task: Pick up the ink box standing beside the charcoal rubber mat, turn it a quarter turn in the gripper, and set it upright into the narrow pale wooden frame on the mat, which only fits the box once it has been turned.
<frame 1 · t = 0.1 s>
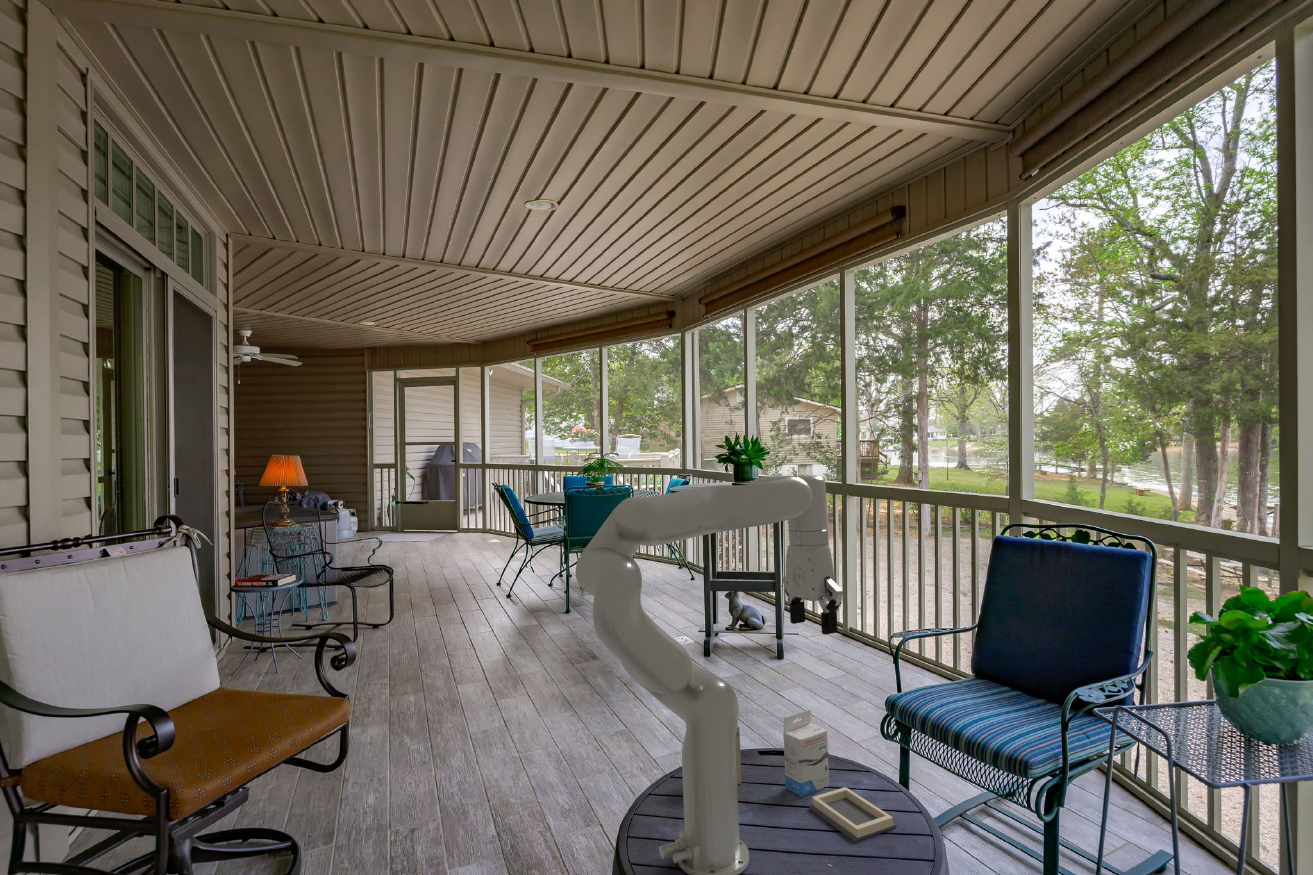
hand: (813, 627, 124), 37 cm above the table, tool pointing down, fingers open, 9 cm apart
skincare box: (725, 782, 139), on the table
ink box: (807, 788, 135), on the table
mat: (851, 817, 123), on the table
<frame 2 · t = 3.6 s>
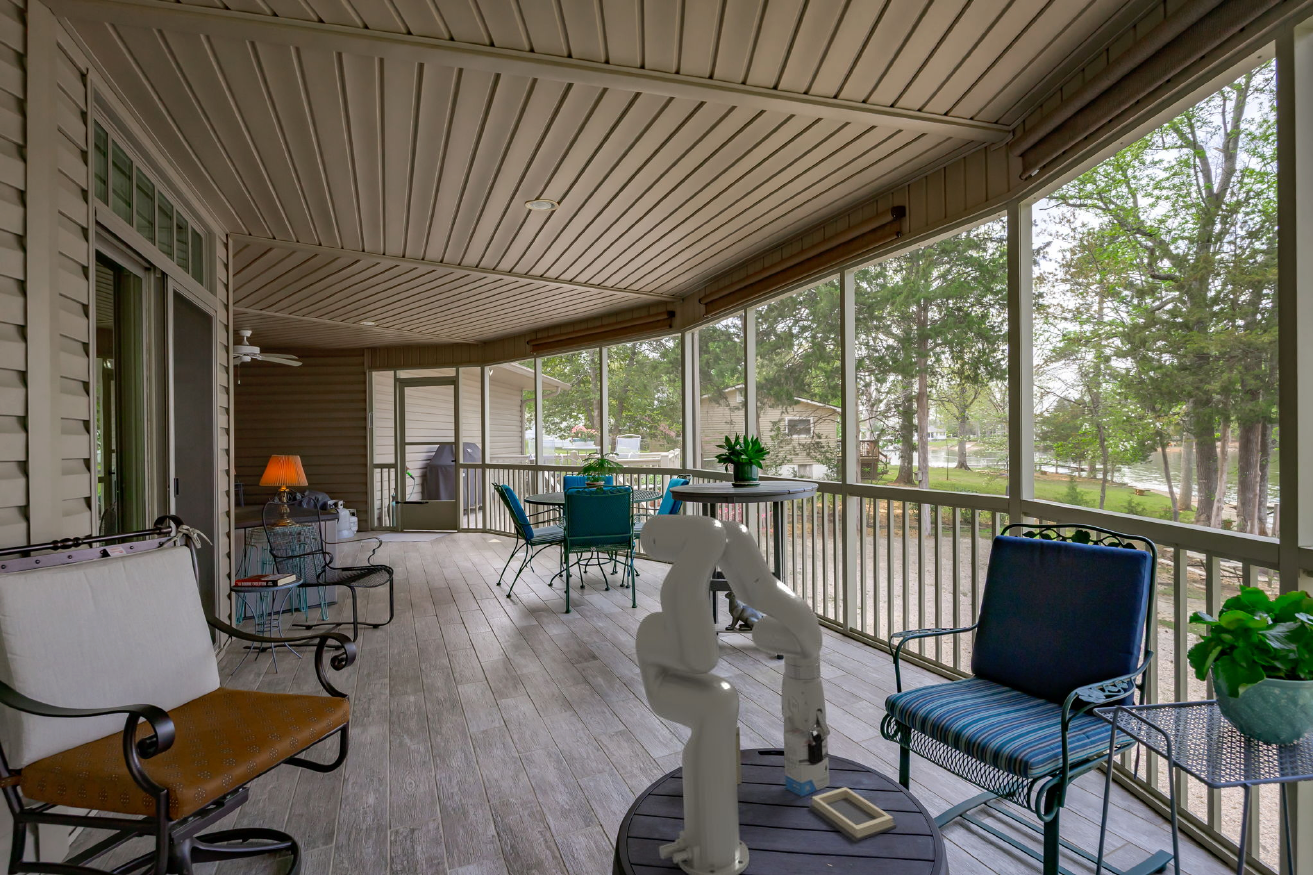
hand: (806, 755, 136), 7 cm above the table, tool pointing down, fingers closed on ink box, 5 cm apart
ink box: (808, 787, 135), on the table, touching gripper
everything else where it was.
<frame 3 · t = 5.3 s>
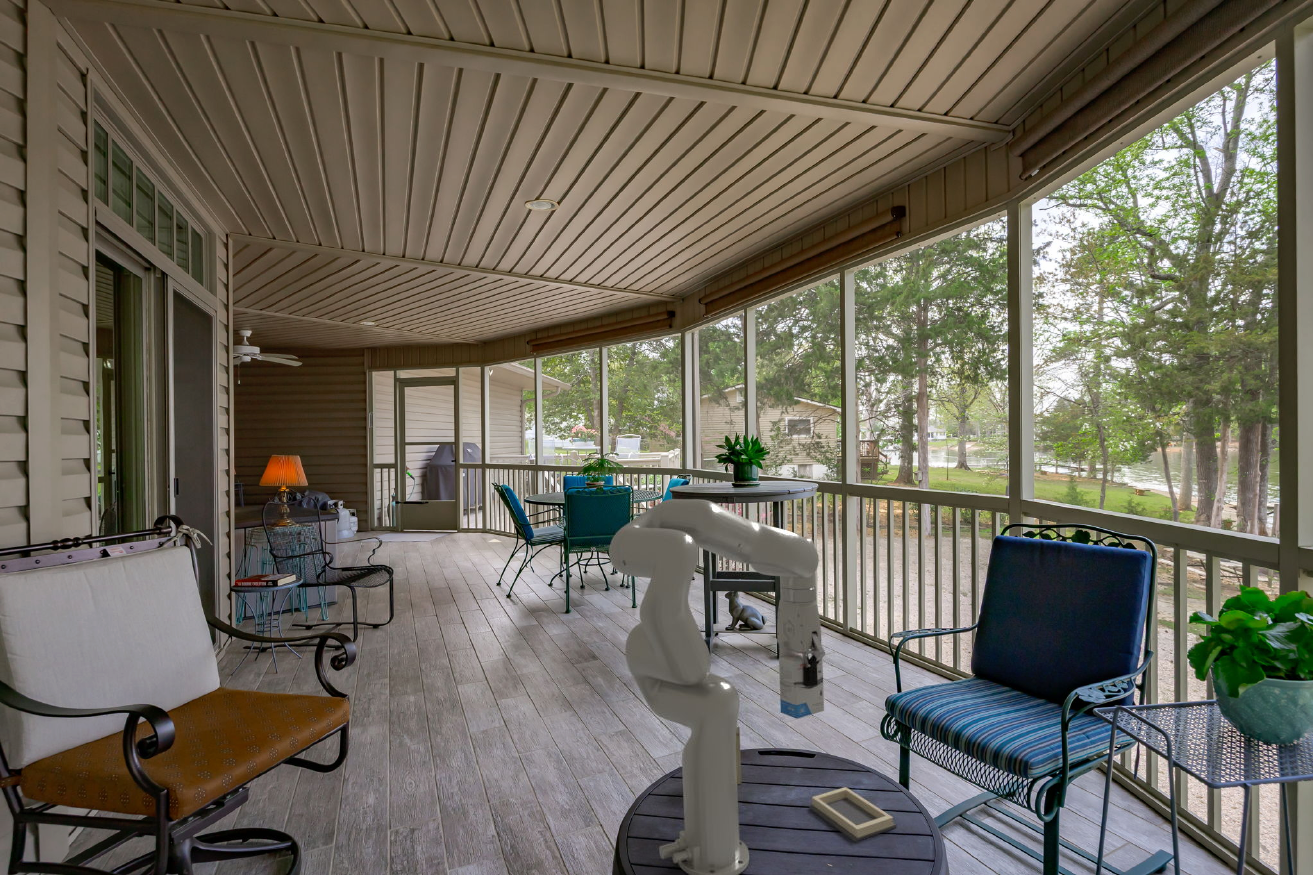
hand: (801, 680, 136), 22 cm above the table, tool pointing down, fingers closed on ink box, 5 cm apart
ink box: (802, 712, 136), point 16 cm above the table, touching gripper
everything else where it was.
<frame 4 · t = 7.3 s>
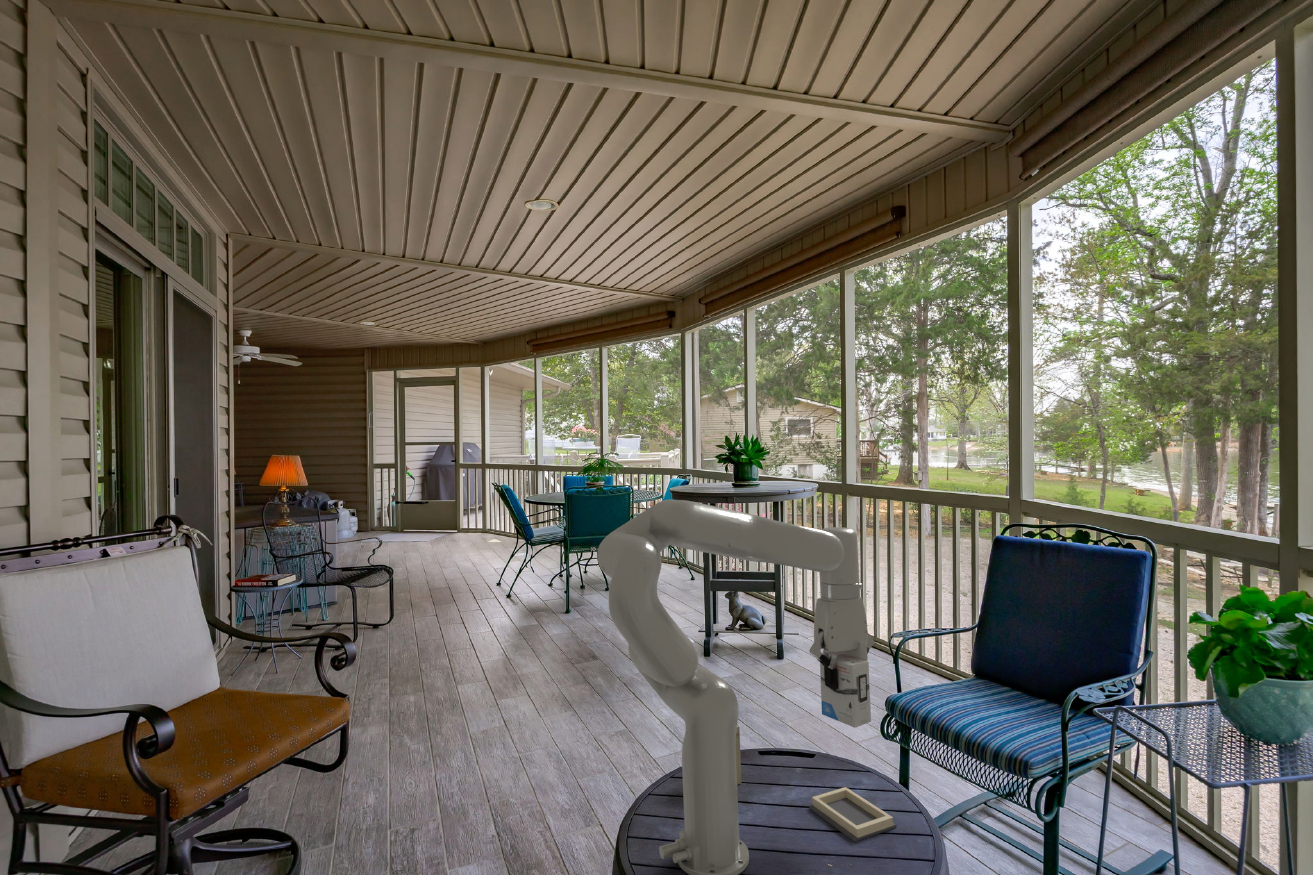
hand: (844, 684, 124), 25 cm above the table, tool pointing down, fingers closed on ink box, 5 cm apart
ink box: (846, 719, 124), point 19 cm above the table, touching gripper
everything else where it was.
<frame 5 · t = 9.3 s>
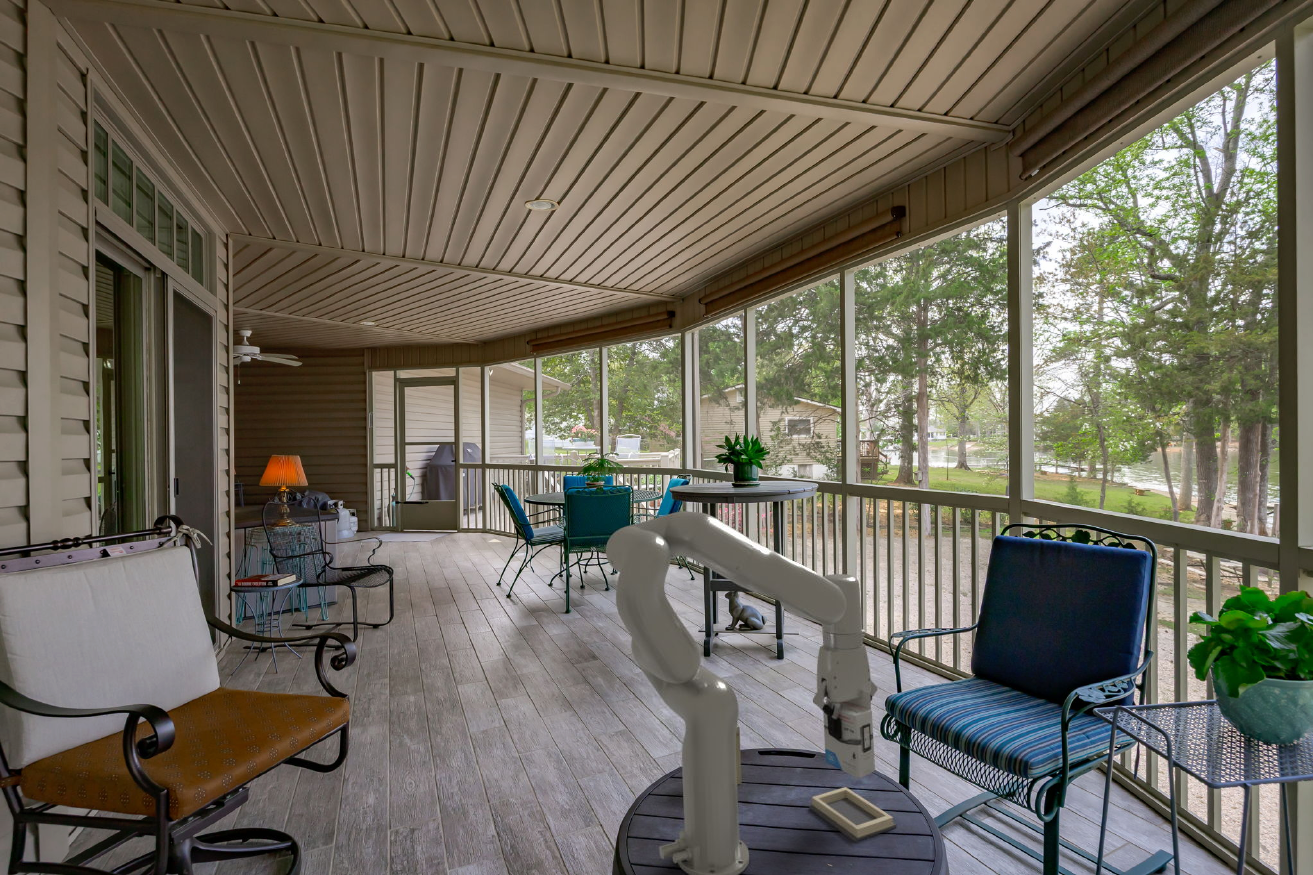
hand: (847, 732, 124), 16 cm above the table, tool pointing down, fingers closed on ink box, 5 cm apart
ink box: (850, 768, 124), point 9 cm above the table, touching gripper
everything else where it was.
when the fingers open (8 cm above the table, at t = 11.2 s): ink box stays where it is, resting on mat.
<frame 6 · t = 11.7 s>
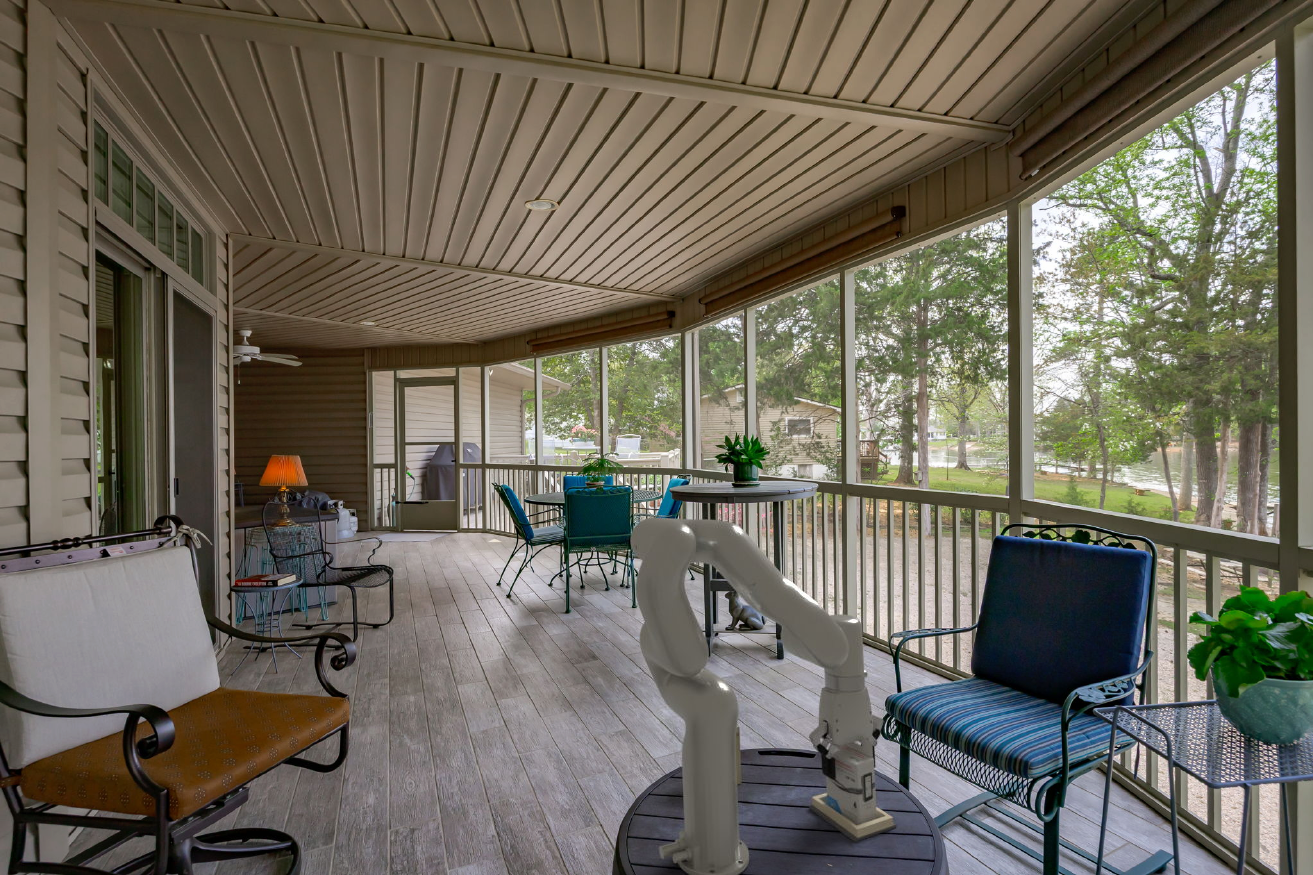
hand: (849, 770, 124), 9 cm above the table, tool pointing down, fingers open, 9 cm apart
ink box: (851, 816, 123), resting on mat
everything else where it was.
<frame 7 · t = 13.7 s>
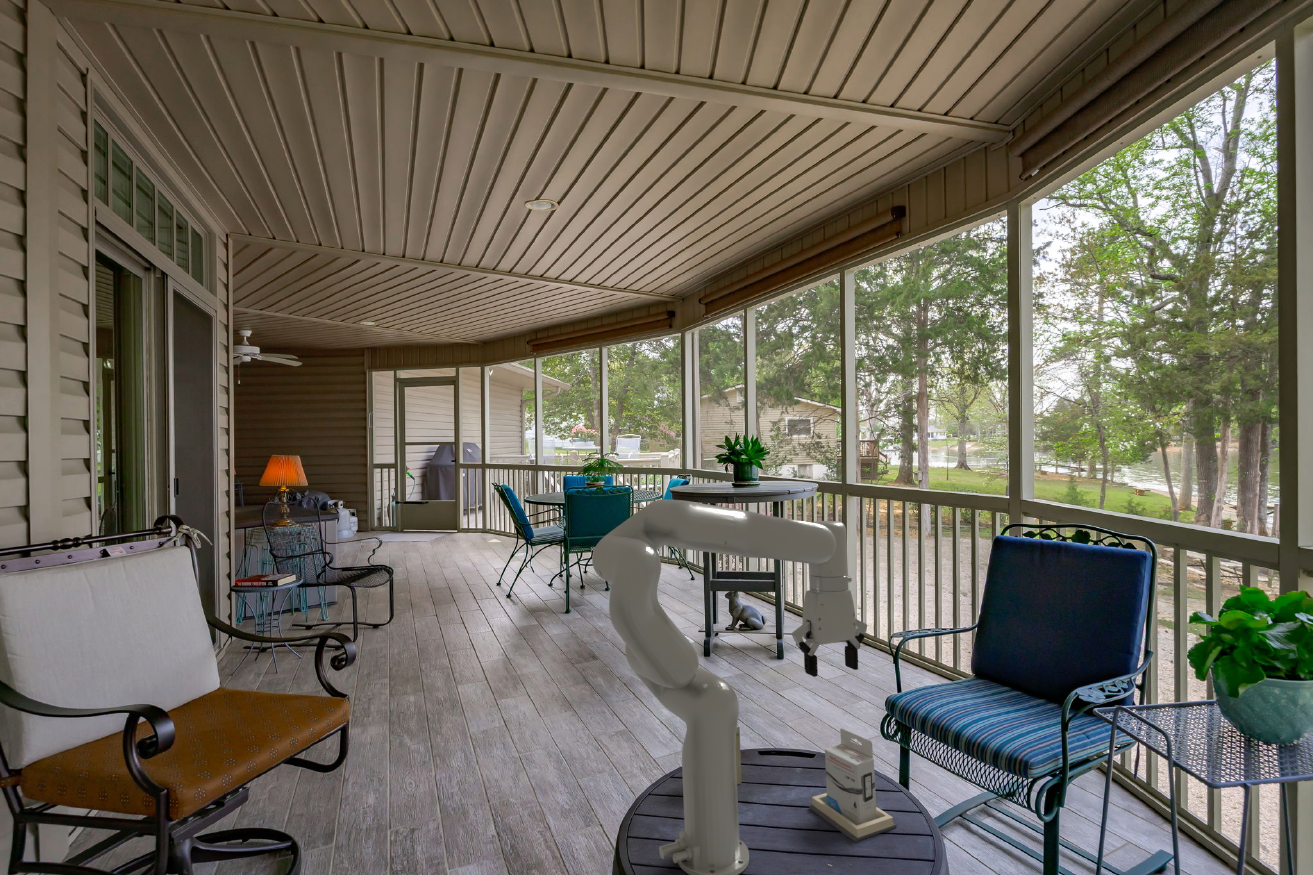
hand: (831, 671, 126), 27 cm above the table, tool pointing down, fingers open, 9 cm apart
nothing on the table moved.
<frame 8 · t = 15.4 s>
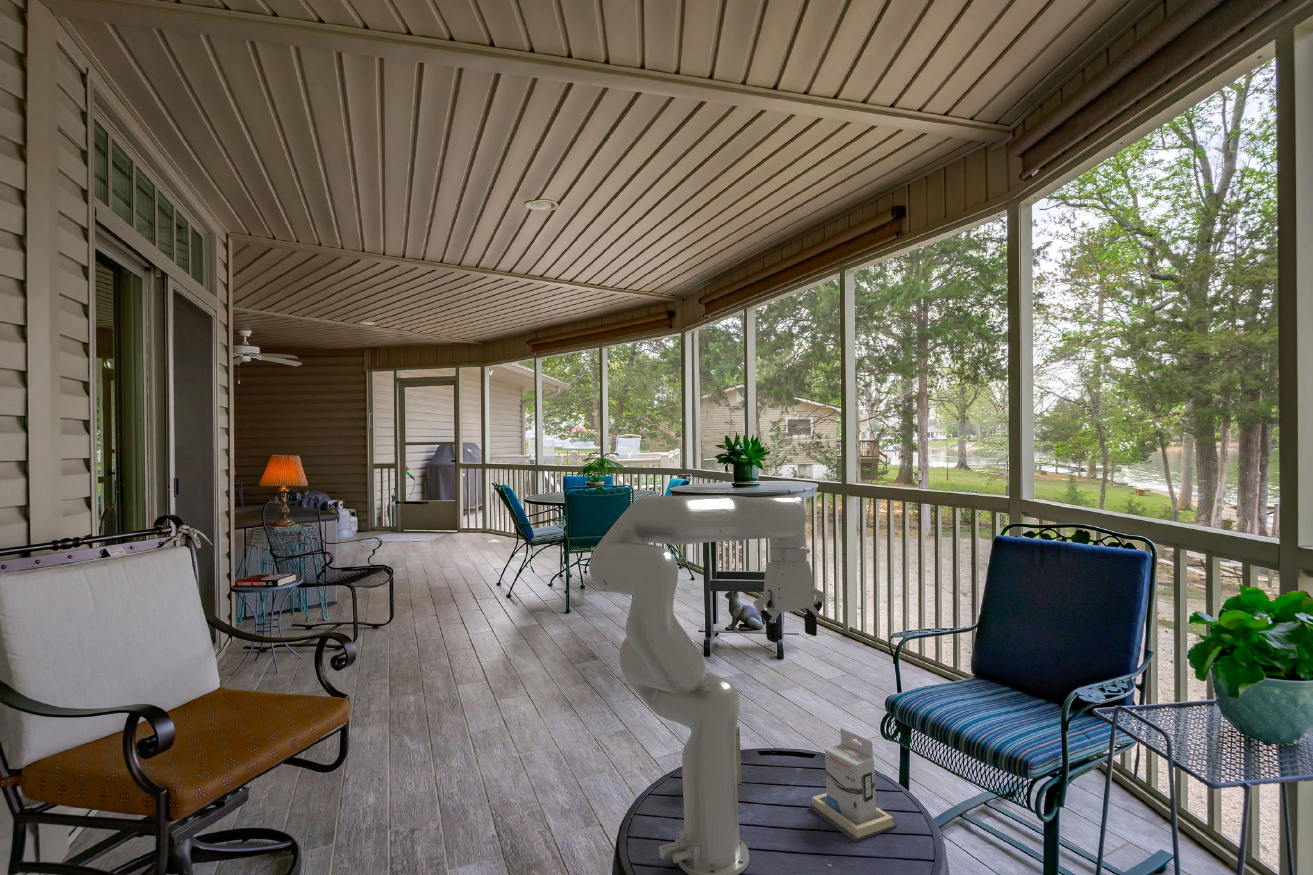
hand: (792, 637, 133), 32 cm above the table, tool pointing down, fingers open, 9 cm apart
nothing on the table moved.
at the end: ink box 0.1 cm off-centre on the mat, point 0.3 cm above the mat's base; ink box tilted 0°; the gripper is holding nothing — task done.
